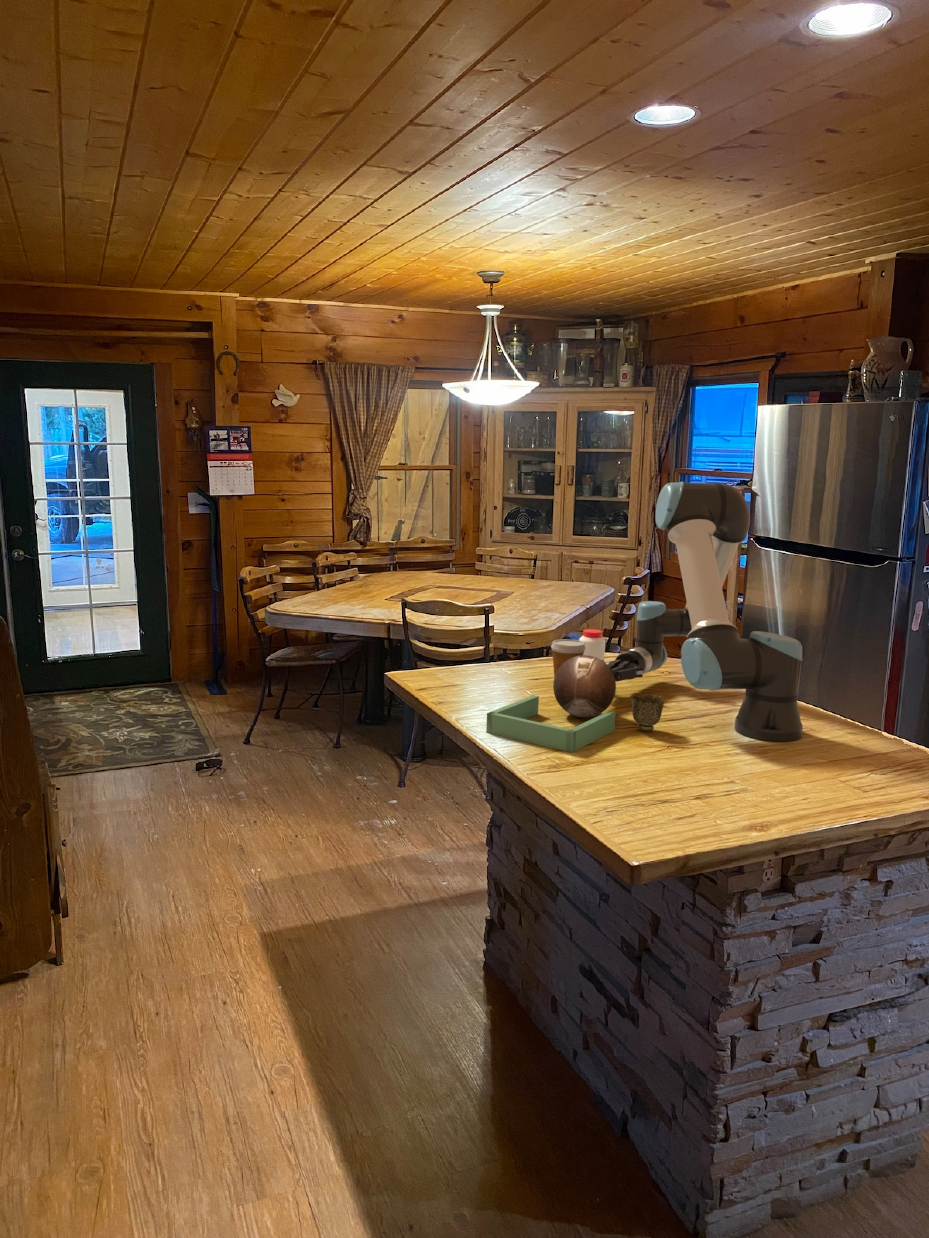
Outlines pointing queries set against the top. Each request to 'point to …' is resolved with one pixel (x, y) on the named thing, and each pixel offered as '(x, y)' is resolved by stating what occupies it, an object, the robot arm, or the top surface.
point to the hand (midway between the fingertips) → (592, 679)
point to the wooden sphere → (584, 686)
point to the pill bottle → (593, 643)
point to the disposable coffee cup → (565, 651)
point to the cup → (647, 711)
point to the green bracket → (546, 727)
